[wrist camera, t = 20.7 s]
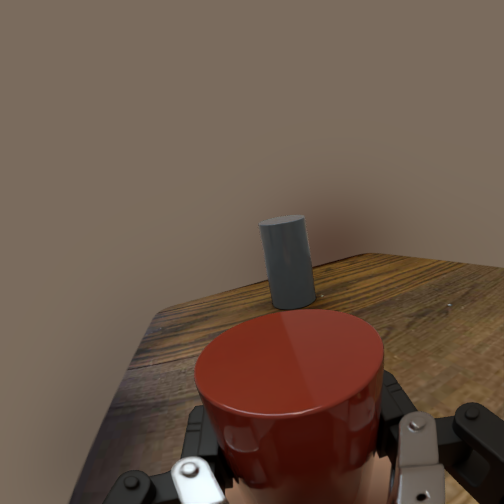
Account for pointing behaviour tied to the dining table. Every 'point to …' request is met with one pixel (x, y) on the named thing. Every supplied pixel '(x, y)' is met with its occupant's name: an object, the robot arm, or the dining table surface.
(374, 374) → the glossy red cylinder
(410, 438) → the robot arm
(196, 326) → the dining table surface
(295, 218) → the grey upright cylinder
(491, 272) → the dining table surface
